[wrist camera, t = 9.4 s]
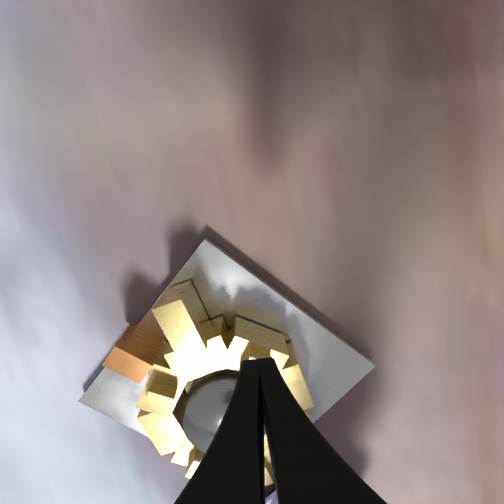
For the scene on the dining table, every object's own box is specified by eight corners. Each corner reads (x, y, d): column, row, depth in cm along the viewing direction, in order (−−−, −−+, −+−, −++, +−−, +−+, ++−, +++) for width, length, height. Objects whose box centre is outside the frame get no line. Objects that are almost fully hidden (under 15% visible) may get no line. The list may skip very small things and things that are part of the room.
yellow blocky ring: (323, 428, 23) (338, 471, 19) (196, 468, 24) (189, 516, 20) (258, 255, 18) (263, 273, 14) (100, 312, 19) (69, 342, 15)
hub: (371, 359, 22) (402, 403, 18) (244, 476, 26) (245, 537, 21) (201, 232, 18) (189, 249, 14) (79, 391, 22) (39, 443, 17)
